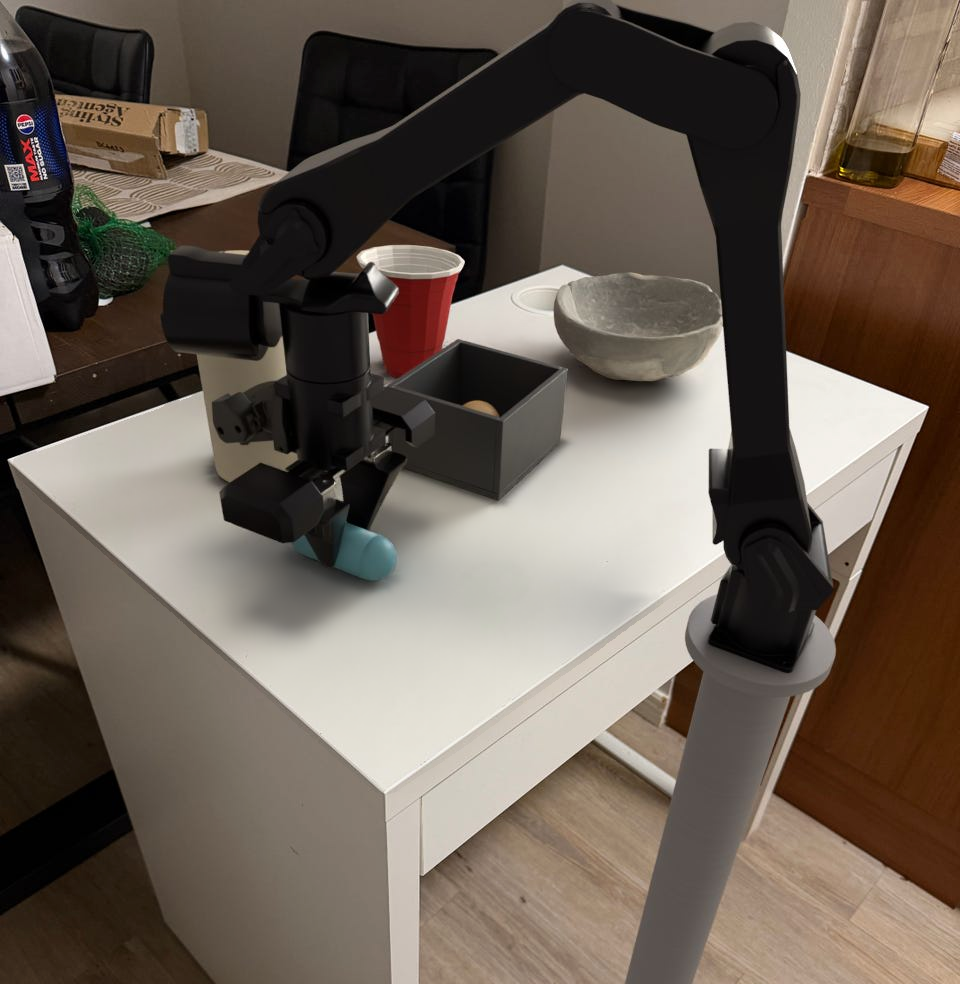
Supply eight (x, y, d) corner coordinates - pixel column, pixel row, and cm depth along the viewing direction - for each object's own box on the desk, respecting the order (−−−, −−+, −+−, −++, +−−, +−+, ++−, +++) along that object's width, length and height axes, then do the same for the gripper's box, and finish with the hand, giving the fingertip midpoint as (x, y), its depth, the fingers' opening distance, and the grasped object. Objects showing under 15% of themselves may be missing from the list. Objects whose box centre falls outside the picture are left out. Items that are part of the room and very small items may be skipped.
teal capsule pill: (406, 572, 75) (405, 534, 72) (380, 595, 72) (378, 557, 70) (308, 534, 78) (305, 497, 76) (280, 555, 76) (276, 517, 74)
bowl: (519, 377, 102) (523, 303, 97) (592, 324, 113) (600, 256, 108) (674, 424, 95) (688, 347, 90) (736, 362, 107) (751, 291, 101)
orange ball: (507, 445, 90) (511, 401, 87) (484, 461, 87) (487, 416, 84) (467, 433, 91) (470, 389, 89) (443, 448, 88) (445, 403, 86)
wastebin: (560, 443, 91) (567, 368, 86) (498, 500, 83) (503, 421, 78) (456, 411, 96) (457, 338, 91) (388, 463, 87) (385, 386, 82)
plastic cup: (476, 356, 106) (479, 245, 98) (441, 398, 98) (442, 280, 90) (386, 340, 108) (382, 231, 100) (345, 379, 100) (337, 264, 92)
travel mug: (323, 459, 87) (306, 260, 76) (269, 499, 82) (242, 292, 70) (254, 437, 90) (227, 242, 78) (197, 474, 85) (160, 270, 73)
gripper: (317, 297, 74) (331, 472, 84) (139, 387, 61) (181, 580, 71) (439, 330, 70) (438, 510, 80) (275, 433, 57) (299, 631, 67)
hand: (342, 553), depth 75 cm, fingers closed on teal capsule pill, 3 cm apart
